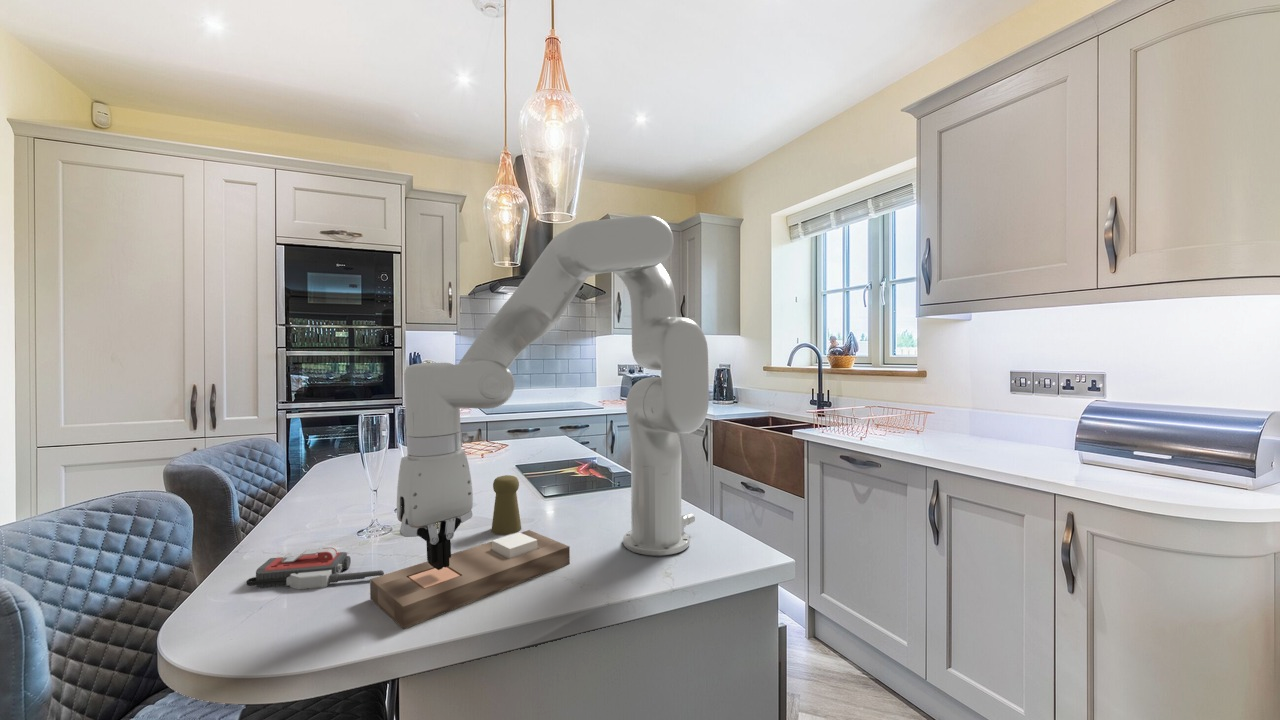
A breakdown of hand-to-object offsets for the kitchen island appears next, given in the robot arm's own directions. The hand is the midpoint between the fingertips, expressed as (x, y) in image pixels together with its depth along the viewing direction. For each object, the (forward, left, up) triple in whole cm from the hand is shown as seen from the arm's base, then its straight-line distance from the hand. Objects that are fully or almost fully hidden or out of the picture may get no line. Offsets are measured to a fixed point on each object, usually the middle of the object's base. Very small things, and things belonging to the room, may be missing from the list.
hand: (439, 565), depth 77 cm
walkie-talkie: (+10, -20, -5) cm, 23 cm away
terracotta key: (+1, 0, -4) cm, 4 cm away
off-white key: (-13, 0, -2) cm, 14 cm away
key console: (-6, 0, -4) cm, 8 cm away
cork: (-22, -17, -5) cm, 29 cm away
